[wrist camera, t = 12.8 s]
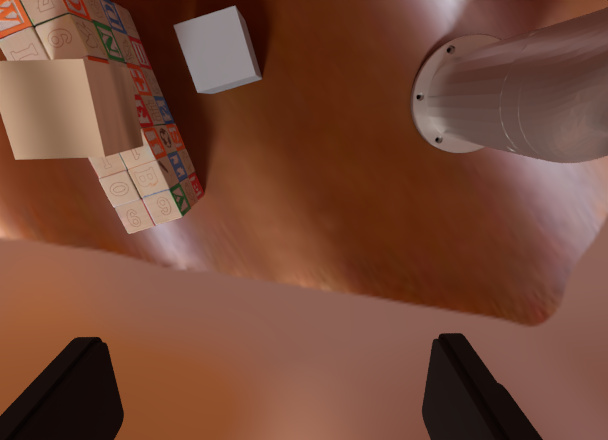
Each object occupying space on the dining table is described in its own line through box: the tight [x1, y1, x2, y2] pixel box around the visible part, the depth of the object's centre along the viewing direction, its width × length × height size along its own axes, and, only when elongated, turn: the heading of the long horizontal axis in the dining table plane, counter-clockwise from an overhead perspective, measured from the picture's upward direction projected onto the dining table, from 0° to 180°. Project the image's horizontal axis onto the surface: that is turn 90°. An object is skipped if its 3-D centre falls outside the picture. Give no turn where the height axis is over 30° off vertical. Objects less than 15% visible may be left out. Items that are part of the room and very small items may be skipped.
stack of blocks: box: [0, 0, 204, 234], centre depth 33 cm, size 21×6×12 cm, turn 17°
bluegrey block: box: [173, 6, 262, 94], centre depth 34 cm, size 6×6×6 cm
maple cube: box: [0, 59, 144, 160], centre depth 24 cm, size 6×6×6 cm
